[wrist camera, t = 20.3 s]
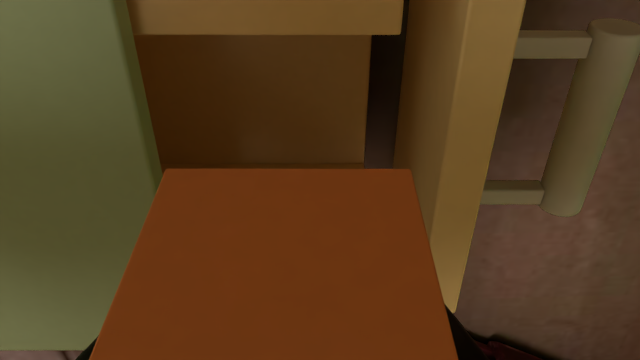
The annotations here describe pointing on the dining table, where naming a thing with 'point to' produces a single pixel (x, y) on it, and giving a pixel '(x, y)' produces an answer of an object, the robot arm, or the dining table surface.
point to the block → (280, 270)
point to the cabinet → (69, 167)
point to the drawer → (352, 97)
